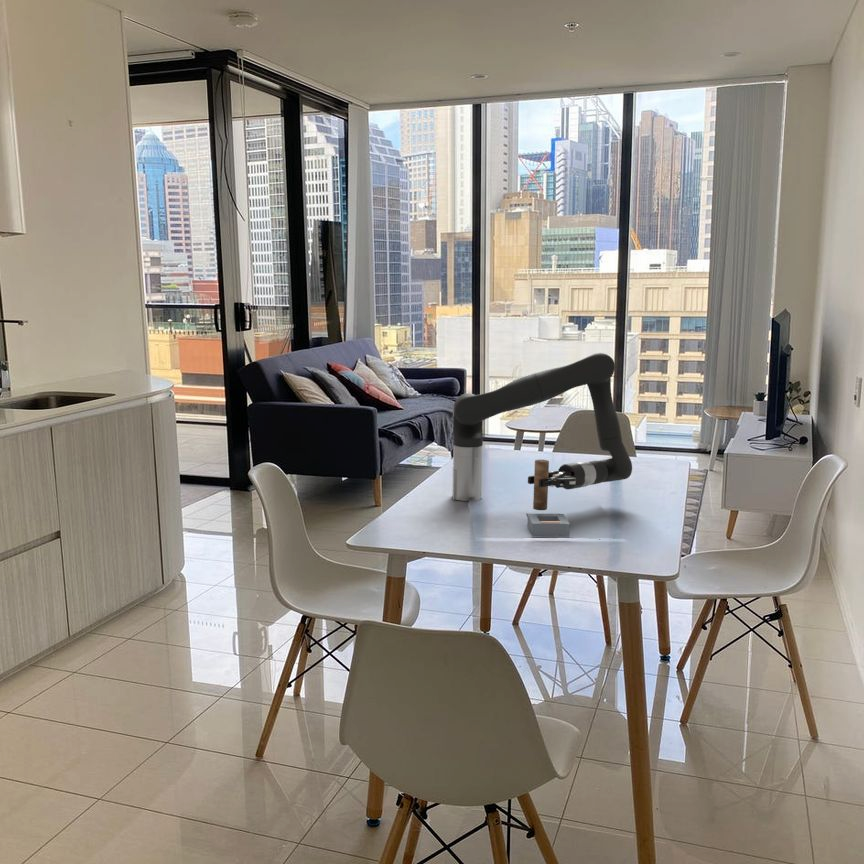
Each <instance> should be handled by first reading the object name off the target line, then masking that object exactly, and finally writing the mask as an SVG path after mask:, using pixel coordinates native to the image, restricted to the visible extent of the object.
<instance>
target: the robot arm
mask: <svg viewBox="0 0 864 864" xmlns="http://www.w3.org/2000/svg"><path fill="white" fill-rule="evenodd" d="M615 369H616V364H615V361H614V359H613V358H612V357H611V356H610V355H608V354H606V353H604V352H596V353H593V354H591V355H588V356H586V357H584V358H581V359H579V360H577V361H575V362H572V363H570V364H567V365H563V366H559V367H553V368H550V369H545V370H542V371H539V372H534V373H531V374H527V375H525V376H521V377H519V378H517V379H514V380H512V381H511V382H508V383H507V384H505V385H503V386H501V387H499V388H497V389H496V390H495V389H494V390H492V391H488V392H483V393H481V394H474V393H469V392H468V393H467V392H466V393H463V394H460V396H458V397H457V398H456V399H455V401H454V404H453V419H452V420H453V428H452V429H453V430H452V431H453V433H452V434H453V436H452V437H453V438H452V439H453V452H452V454H453V457H452V458H453V459H452V461H453V462H452V465H453V467H452V501H460V502H461V501H462V502H469V501H480V500H481V499H482V493H483V489H482V488H483V451H484V450H483V449H484V447H483V445H484V443H483V442H484V436H483V435H484V434H483V432H484V431H483V421H485V420H487V419H490V418H492V417H494V416H497V415H499V414H504V413H505V412H511V411H514V410H515V411H516V410H520V409H522V408H523V409H524V408H526V407H529V406H533V405H537V404H540V403H543V402H547V401H549V400H550V399H553V398H556V397H558V396H560V395H562V394H564V393H566V392H567V391H570V390H572V389H575V388H578V387H581V386H582V387H583V386H586V385H587V388H588V391H589V393H590V397H591V401H592V407H593V412H594V418H595V424H596V425H595V426H596V427H595V428H596V432H597V438H598V446H599V448H600V450H601V451H603V452H609V454H610V456H611V458H606V459H601V460H591V461H578V462H571V463H565V464H562V465H561V466H560V467H559V468H558V469H554V470H552V471H551V470H549V474H548V478H546V479H540V480H539V487H547V486H548V487H550V488H553V487H555V488H557V489H559V488H560V489H561V488H563V489H565V490H574V489H579V488H586V487H588V486H592V485H593V486H594V485H598V484H601V483H609V482H616V481H622V480H623V481H624V480H627V479H628V478H630V477H631V475H632V472H633V463H632V459H631V458H630V455H629V454H628V452H627V451H628V450H627V448H626V447H625V445H624V442H623V437H622V433H621V432H622V431H621V427H620V421H619V418H618V415H617V412H616V408H615V406H614V405H615V404H614V402H613V397H612V395H613V394H612V387H611V381H612V380H611V379H612V376H613V375H614V373H615ZM527 483H528V484H529V485H534V475H529V476H528V477H527Z"/></svg>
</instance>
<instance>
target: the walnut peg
mask: <svg viewBox="0 0 864 864" xmlns="http://www.w3.org/2000/svg"><path fill="white" fill-rule="evenodd" d="M549 468H550V461H549V460H547V459H535V460H534V474H533V476H534V484H533V503H532V508H533V509H534V510H535V511H546V510H548V500H549V499H548V497H549V496H548V493H549V486H547V487H539V480H540V479H546V478H548V474H549V471H550V469H549Z"/></svg>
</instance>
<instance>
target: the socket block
mask: <svg viewBox="0 0 864 864" xmlns="http://www.w3.org/2000/svg"><path fill="white" fill-rule="evenodd" d="M527 514H528V517H527V527H528V529H529V531H530V534H531V536H532V537H531V539H556V537H553V536H570V525H571V524H570V522H569V520H568V518H567V517H566V515H565V514H564V513H527ZM533 536H536V537H533ZM537 536H539V537H537ZM540 536H542V537H540ZM543 536H550V537H543Z"/></svg>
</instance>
